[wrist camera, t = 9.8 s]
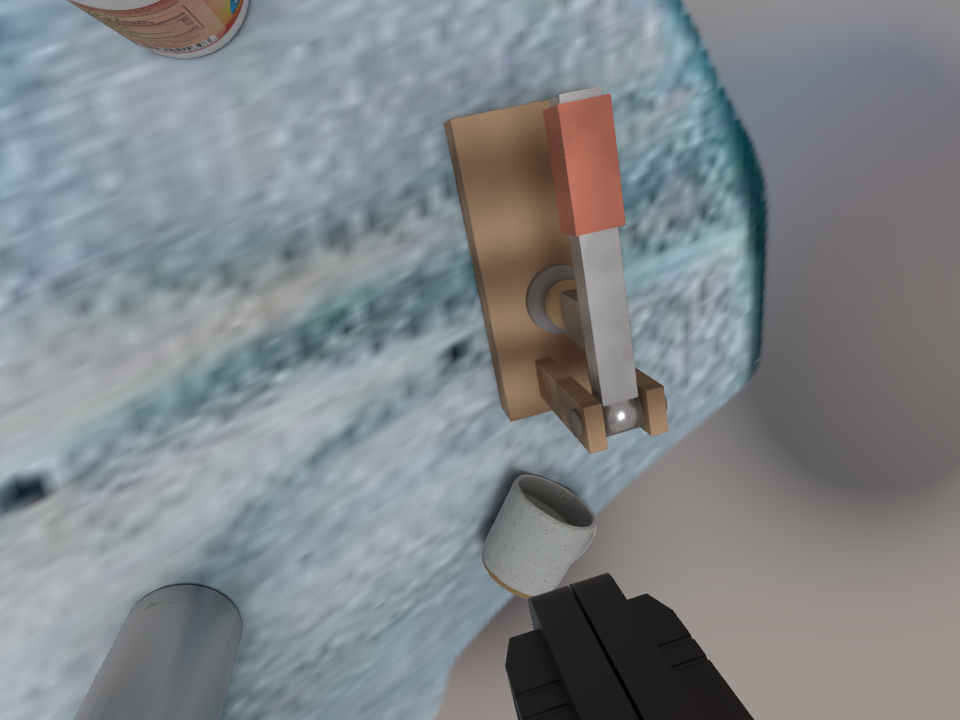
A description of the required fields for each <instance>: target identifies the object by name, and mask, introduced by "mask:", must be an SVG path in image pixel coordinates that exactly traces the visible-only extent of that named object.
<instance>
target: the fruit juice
mask: <svg viewBox="0 0 960 720" xmlns="http://www.w3.org/2000/svg"><path fill="white" fill-rule="evenodd" d="M68 1H69V2H71V3H72V4H74V5H75V6H77V7H78V8H80V9H82V10H83V11H85V12H86V13H88V14H89V15H91V16H93V17H94V18H96V19H97V20H99V21H100V22H102V23H103V24H105V25H107V26H108V27H110V28H111V29H113V30H114V31H116V32H118V33H119V34H121V35H122V36H124V37H125V38H127V39H129V40H130V41H132V42H133V43H135V44H137V45H138V46H140V47H142V48H144V49H146V50H149V51H151V52H154V53H157V54H160V55H164V56H169V57H174V58H195V57H200V56H204V55H207V54H210V53H212V52H214V51H216V50H218V49H220V48H221V47H223V46H224V45H225V44H227V43H228V42H229V41H230V40H231V39H232V38H233V37H234V35H235V34H236V33H237V31H238V30H239V28H240V27H241V25H242V23H243V21H244V18H245V15H246V12H247V9H248V4H249V0H68Z"/></svg>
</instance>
